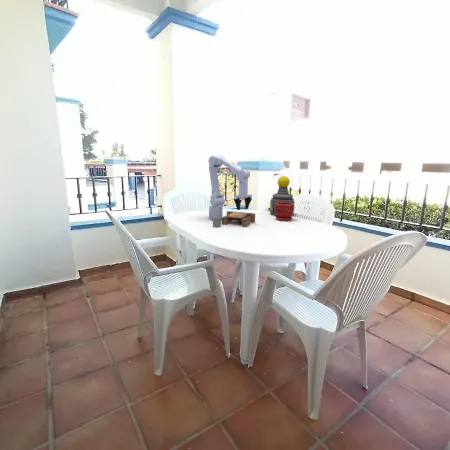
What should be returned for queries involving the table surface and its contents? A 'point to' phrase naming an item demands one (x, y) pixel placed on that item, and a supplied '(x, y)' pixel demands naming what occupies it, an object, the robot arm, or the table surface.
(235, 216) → the trapdoor
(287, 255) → the table surface
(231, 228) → the table surface
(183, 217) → the table surface
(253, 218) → the frame
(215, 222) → the stone
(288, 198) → the decorative lamp
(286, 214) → the plant pot
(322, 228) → the table surface
